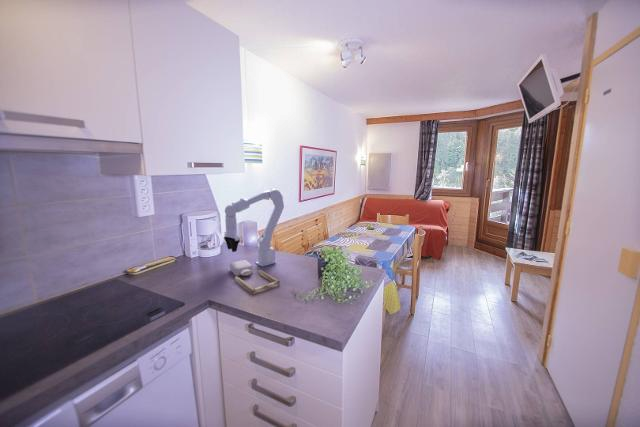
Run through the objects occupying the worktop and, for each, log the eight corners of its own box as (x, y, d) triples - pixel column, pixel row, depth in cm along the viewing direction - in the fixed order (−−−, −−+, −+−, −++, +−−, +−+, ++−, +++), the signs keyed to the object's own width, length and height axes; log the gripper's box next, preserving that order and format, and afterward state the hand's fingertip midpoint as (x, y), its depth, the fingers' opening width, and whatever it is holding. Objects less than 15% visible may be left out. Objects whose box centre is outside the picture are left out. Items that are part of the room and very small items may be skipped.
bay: (260, 273, 138) (260, 269, 138) (279, 285, 125) (279, 281, 125) (234, 280, 129) (234, 276, 128) (252, 294, 116) (252, 290, 115)
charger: (239, 281, 129) (230, 271, 141) (257, 276, 134) (246, 267, 146) (239, 272, 128) (229, 262, 140) (257, 268, 133) (246, 259, 145)
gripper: (218, 225, 145) (219, 248, 148) (229, 230, 135) (230, 255, 137) (231, 223, 150) (231, 246, 152) (242, 228, 139) (243, 252, 142)
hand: (232, 250), depth 145 cm, fingers open, 5 cm apart
